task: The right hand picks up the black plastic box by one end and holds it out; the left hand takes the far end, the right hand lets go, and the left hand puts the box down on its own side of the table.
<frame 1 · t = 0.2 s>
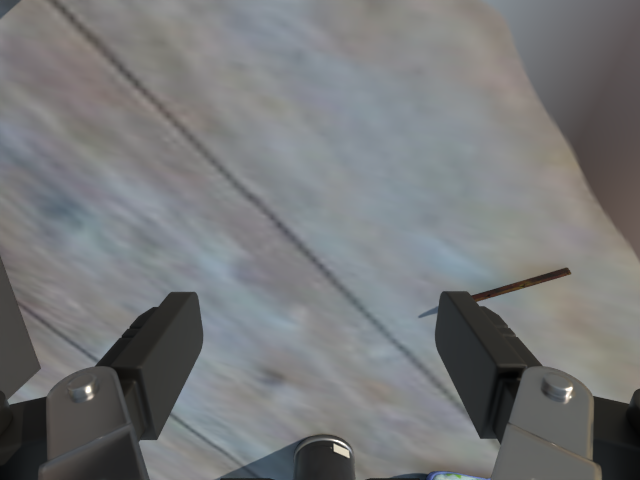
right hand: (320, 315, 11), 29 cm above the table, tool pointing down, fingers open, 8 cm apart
ruler: (505, 285, 44), on the table
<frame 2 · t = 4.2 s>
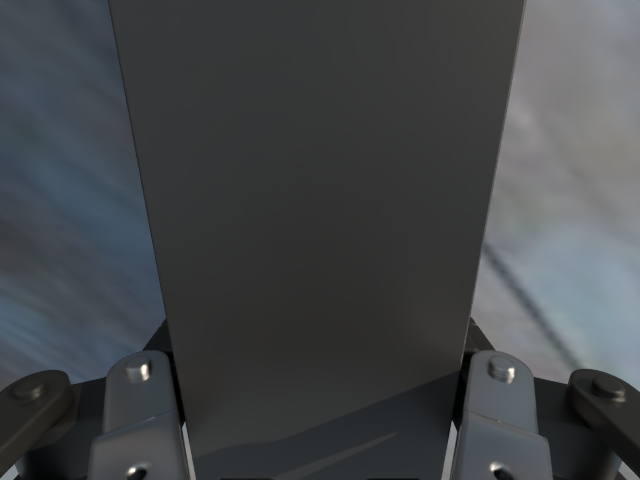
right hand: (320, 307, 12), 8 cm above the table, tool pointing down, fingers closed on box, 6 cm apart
box: (319, 47, 17), on the table, touching right hand
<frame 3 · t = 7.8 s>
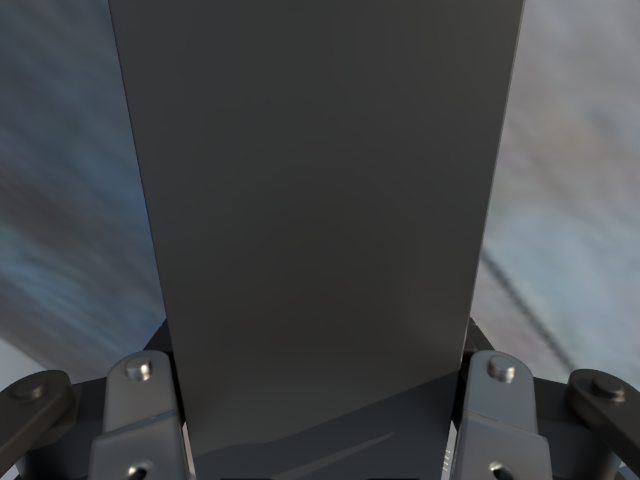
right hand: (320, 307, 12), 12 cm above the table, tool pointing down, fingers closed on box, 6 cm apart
box: (319, 47, 17), point 4 cm above the table, touching right hand, left hand
when the right hand's fingers open (12 cm above the table, at t = 9.1 s): box moves 2 cm, held by the left hand.
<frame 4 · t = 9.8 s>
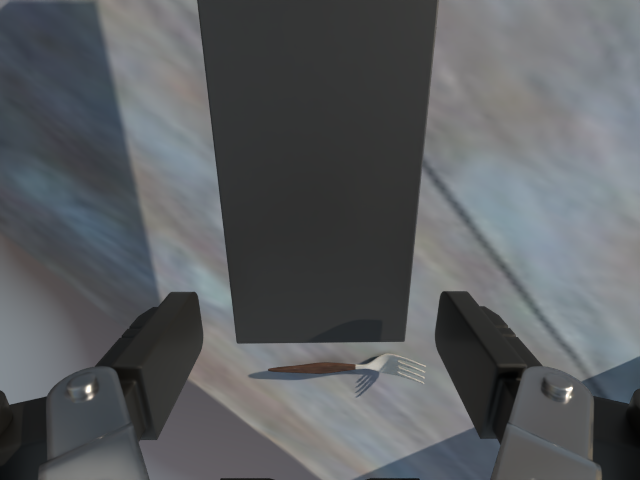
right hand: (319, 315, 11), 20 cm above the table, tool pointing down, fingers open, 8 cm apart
box: (316, 6, 20), point 6 cm above the table, touching left hand
fork: (344, 362, 37), on the table
when the left hand's fingers open (10 cm above the table, at t = 13.9 s): box stays where it is, resting on wall clock.
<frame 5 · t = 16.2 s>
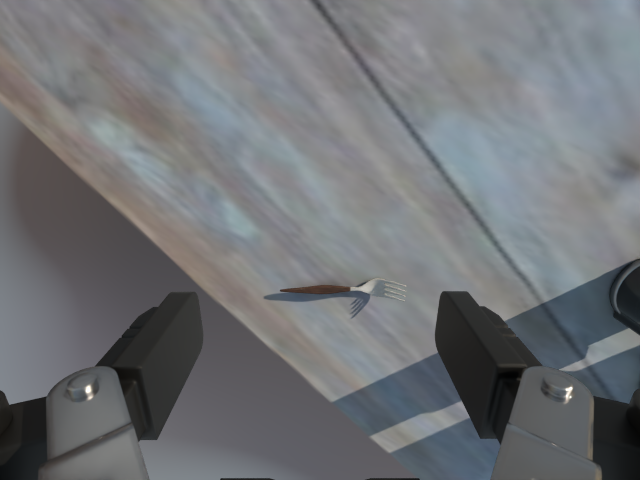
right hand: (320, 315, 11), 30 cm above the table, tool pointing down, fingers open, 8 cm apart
fork: (341, 286, 45), on the table
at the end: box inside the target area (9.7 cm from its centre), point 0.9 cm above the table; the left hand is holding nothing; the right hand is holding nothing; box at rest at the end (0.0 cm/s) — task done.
